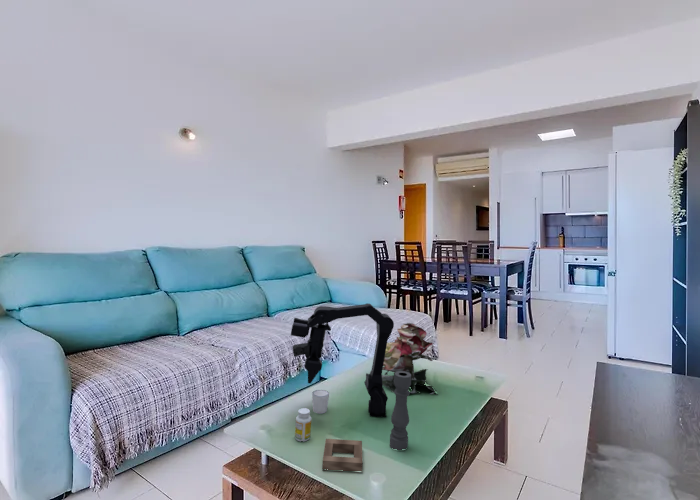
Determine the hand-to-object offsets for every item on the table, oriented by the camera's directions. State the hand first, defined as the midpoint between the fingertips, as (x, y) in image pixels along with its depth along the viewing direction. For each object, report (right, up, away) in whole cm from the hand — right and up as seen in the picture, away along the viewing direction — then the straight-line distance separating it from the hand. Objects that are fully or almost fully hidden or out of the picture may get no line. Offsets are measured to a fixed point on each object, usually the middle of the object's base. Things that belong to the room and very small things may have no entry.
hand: (309, 378), depth 149 cm
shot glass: (+4, -14, +4) cm, 15 cm away
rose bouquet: (+41, -14, +34) cm, 55 cm away
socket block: (+14, -17, -27) cm, 35 cm away
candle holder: (+32, -17, -18) cm, 41 cm away
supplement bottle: (-1, -15, -16) cm, 22 cm away
